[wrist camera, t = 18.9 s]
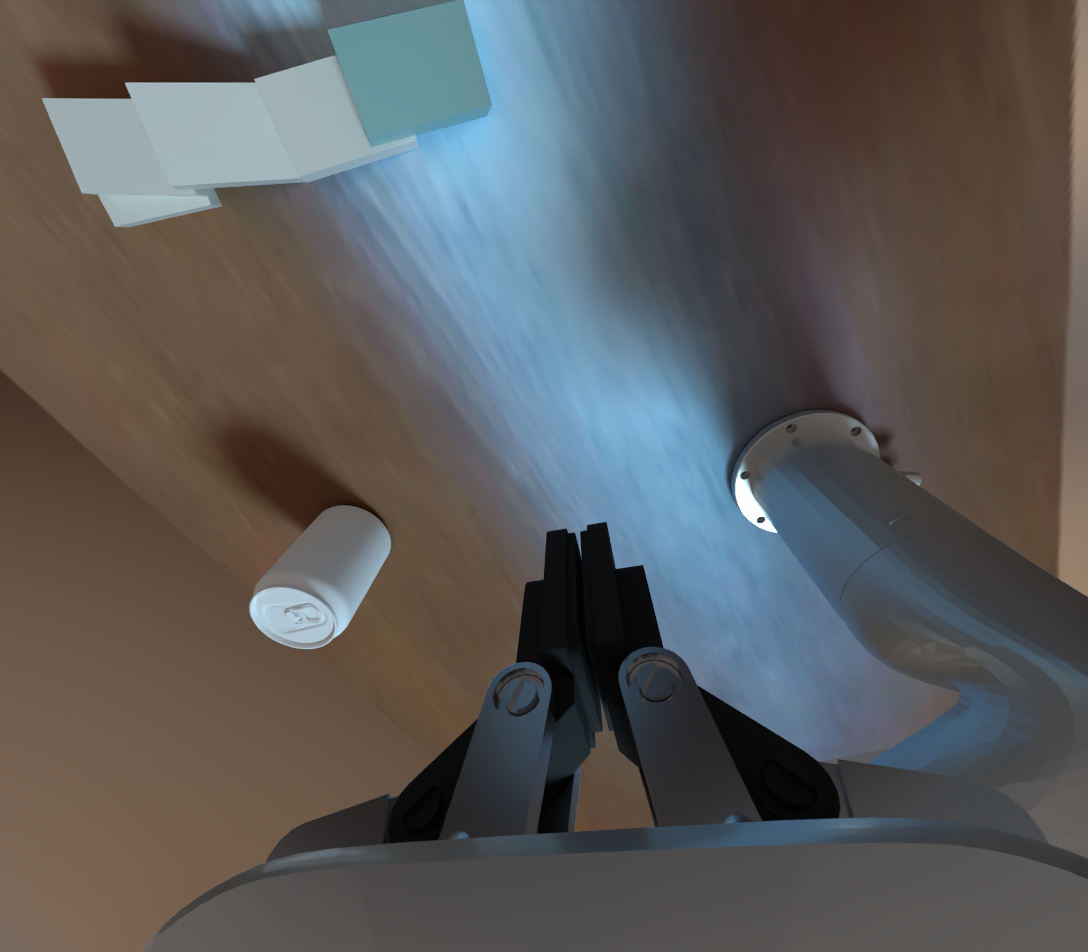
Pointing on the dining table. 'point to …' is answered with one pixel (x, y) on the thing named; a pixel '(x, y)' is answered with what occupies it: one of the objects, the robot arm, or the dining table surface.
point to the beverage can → (321, 578)
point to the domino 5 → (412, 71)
